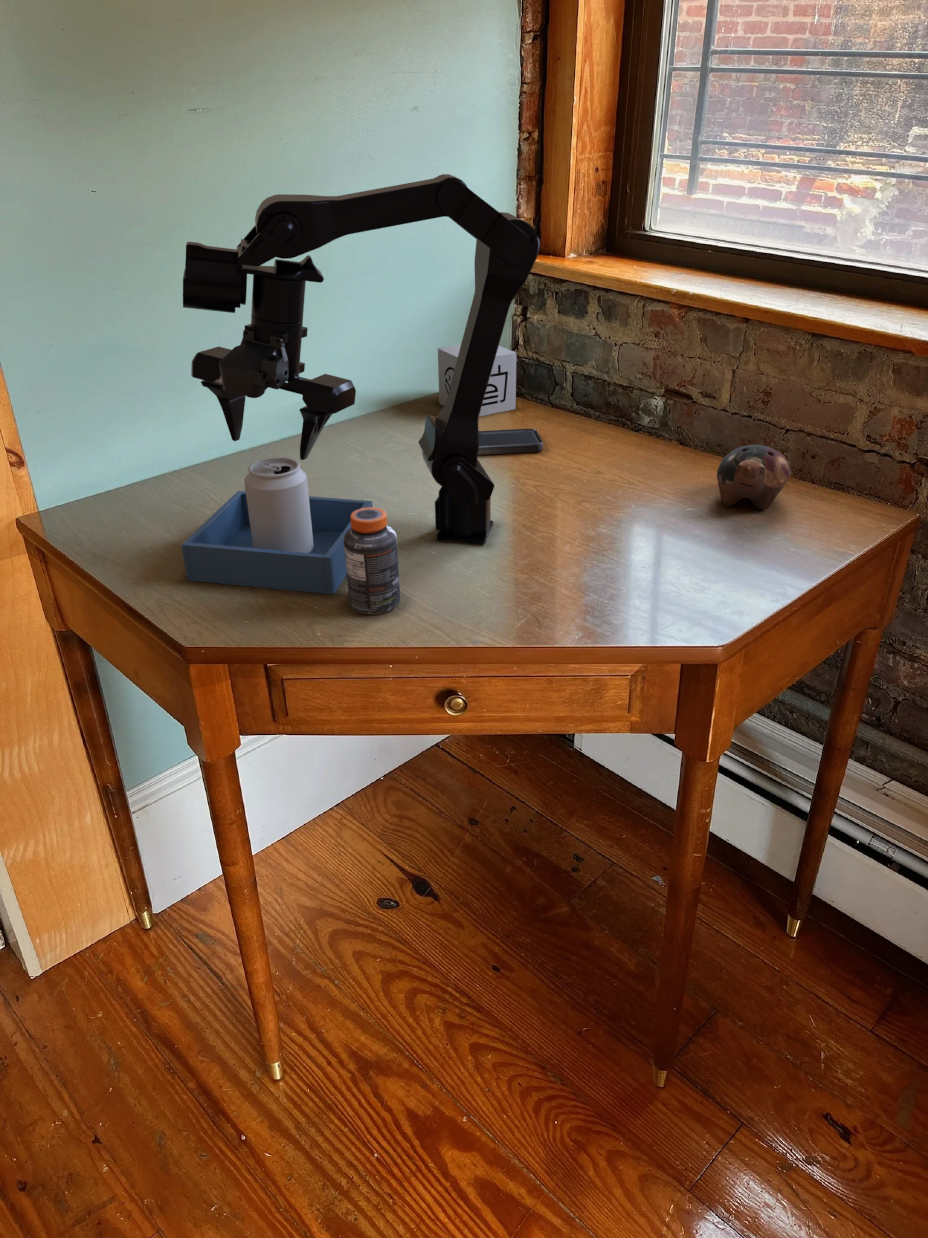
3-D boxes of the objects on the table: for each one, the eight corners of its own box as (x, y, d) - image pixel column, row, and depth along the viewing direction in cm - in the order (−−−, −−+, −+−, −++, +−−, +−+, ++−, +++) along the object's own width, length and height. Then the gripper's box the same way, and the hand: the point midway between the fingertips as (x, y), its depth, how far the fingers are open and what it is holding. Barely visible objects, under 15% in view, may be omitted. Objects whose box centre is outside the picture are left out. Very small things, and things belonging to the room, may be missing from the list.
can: (302, 570, 117) (292, 478, 111) (245, 565, 118) (231, 474, 112) (322, 543, 123) (313, 455, 117) (267, 539, 125) (256, 451, 119)
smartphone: (544, 444, 151) (449, 449, 149) (544, 451, 151) (449, 456, 150) (535, 427, 158) (444, 432, 156) (535, 434, 158) (444, 438, 157)
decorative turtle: (711, 518, 129) (715, 461, 126) (718, 484, 142) (722, 430, 139) (786, 523, 126) (793, 464, 123) (787, 487, 139) (793, 433, 136)
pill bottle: (401, 590, 113) (396, 501, 107) (400, 615, 108) (395, 523, 102) (350, 591, 113) (343, 502, 107) (347, 616, 108) (339, 525, 102)
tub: (374, 534, 126) (372, 500, 124) (333, 594, 112) (329, 557, 110) (242, 523, 130) (238, 490, 127) (187, 580, 116) (180, 544, 113)
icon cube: (515, 409, 170) (516, 352, 165) (467, 418, 166) (466, 361, 161) (486, 394, 178) (486, 340, 172) (439, 403, 173) (437, 348, 168)
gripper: (162, 308, 103) (162, 447, 110) (317, 347, 99) (306, 488, 106) (220, 296, 112) (216, 425, 120) (363, 331, 108) (350, 462, 115)
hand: (269, 449), depth 115 cm, fingers open, 9 cm apart
